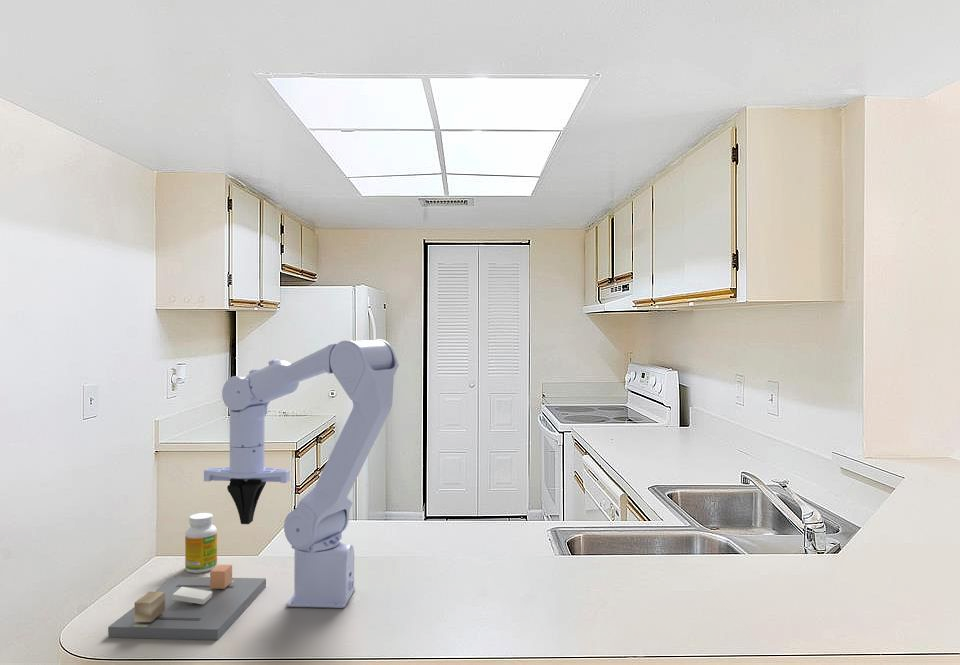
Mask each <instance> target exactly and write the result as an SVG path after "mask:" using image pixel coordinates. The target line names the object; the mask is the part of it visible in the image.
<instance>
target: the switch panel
mask: <svg viewBox="0 0 960 665" xmlns="http://www.w3.org/2000/svg"><path fill="white" fill-rule="evenodd" d="M181 587H187V588H193V589H199V590H206V591H212V597H211V598H210V599H209V600H208V601H207V602H206V603H204V604H197V603H191V602H185V601H178V600H172V595H173V594H174V593H175V592H176V591H177V590H178V589H180V588H181ZM266 587H267V578H265V577H264V578H263V577H261V578H260V577H232V582H231V583H230V584H229V585H228V586H227V587H226V588H225V589H222V588H210V576H177V575H176V576H172V577H171V578H170V579H169V580H167V582H164V583H163V584H162V585H161V586H160V587H159V588H157V589H156V590H154V592H165V611H164V612H162V613H161V614H160V615H159V616H158V617H156V618H155V619H154V620H153V621H152V622H135V606H134V607H132V608H131V609H129V610H128V611H127V612H126V613H125V614H123V615H122V616H121V617H119V618H118V619H116V621H114V622H113V623H111V624H110V625H109V626H108V629H107V631H108V632H107V634H108V636H107V637H108V638H122V639H123V638H127V639H128V638H129V639H158V640H159V639H161V640H163V639H164V640H165V639H166V640H167V639H168V640H171V639H172V640H200V641H201V640H204V641H205V640H207V641H208V640H209V641H210V640H211V641H213V640H214V641H218V640H219V639H220V638H221V637H222V636H223V635H224V634H225V633H226V631H227V630H228V629H229V628H230V627H231V626H232V625H233V624H234V623H235V622H236V620H238V619H239V617H240V616H241V615H242V614H243V613H244V611H246V609H247V608H248V607H249V606H250V605H251V604H252V603H253V602H254V601H255V600H256V599H257V598H258V596H259V595H260V594H261V593H262V592H264V590H265V589H266Z"/></svg>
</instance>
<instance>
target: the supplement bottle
mask: <svg viewBox="0 0 960 665" xmlns="http://www.w3.org/2000/svg"><path fill="white" fill-rule="evenodd" d="M188 523H189V527H187V529H186V531H185V534H184V535H185V537H184V538H185V539H184V543H185V556H184V557H185V558H184V559H185V560H184V563H185V568H184V569H185V571H187V572H188V573H192V574H198V573H199V574H201V573H207V572H210V571H211V570H212V569H213V568H215V567H216V566H217V565H218V529H217V527H216V526H215V525H214V524H213V523H214V515H213V513H210V512H199V513H193V514H191V515H189V522H188Z"/></svg>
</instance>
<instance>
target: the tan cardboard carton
mask: <svg viewBox="0 0 960 665" xmlns="http://www.w3.org/2000/svg"><path fill="white" fill-rule="evenodd" d="M134 607H135V622H152V621H153V620H154V619H155V618H156V617H158V616H159V615H160V614H161V613H162V612H164V611H165V592H155V591H148V592H147V593H145V594H144V595H143V596H141V597H140V598H139V599H137V600H136V601H135V602H134Z"/></svg>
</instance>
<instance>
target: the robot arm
mask: <svg viewBox="0 0 960 665" xmlns="http://www.w3.org/2000/svg"><path fill="white" fill-rule="evenodd" d="M267 363H268V365H267V366H265V367H262V368H260V369H258V368H257V369H256V368H253V369H251V370H249V371H248V373H249V374H247V375H246V376H245V375H244V376H239V375H234V376H231V377H230V378H229V379H227V380H226V381H225V383H224V384H223V386H222V389H221V390H222V392H221V395H222V396H221V397H222V400H223V402H224V405H225V406H226V407H227V408H228V409H229V467H208V468H206V469H204V470H203V482H211V481H215V482H216V481H218V482H219V481H222V482H229V484H228V485H227V488H226V490H227V492H228V493H229V494H230V496H231V498H232V500H233V503H234V505H235V507H236V509H237V513H238V516H239V520H240V525H250V524H251V523H252V522H253V521H254V517H255V511H256V508H257V504H258V501H259V499H260V496H261V494H262V492H263V490H264V487H265V486H266V485H267V484H266V483H267V482H269V483H274V482H275V483H281V484H287V483H289V481H291V469H284V468H283V469H282V468H276V467H275V468H273V467H266V466H265V427H266V426H265V423H266V422H265V418H266V416H267V414H268V406H269V404H270V403H271V402H272V401H274V400H277V399H279V398H282V397H284V396H287V395H290V394H293V393H294V392H295V391H296V390H297V389H298V387H299V385H300V382H302V381H305V380H309V379H312V378H314V377H317V376H319V375H322V374H325V373H327V374H329V375H330V374H333V375H334V377H335V378H336V380H337V382H338V383H339V384H340V386H341V387H342V389H343V391H344V392H345V393H346V395H347V396H348V398H349V399H350V400H351V401H352V403H353V407H352V409H351V411H350V413H349V416H348V417H347V420H346V422H345V424H344V426H343V427H342V430H341V432H340V434H339V436H338V438H337V440H336V442H335V445H334V446H333V449H332V451H331V452H330V454H329V457H328V459H327V460H326V463H325V465H324V467H323V469H322V472H321V473H320V475H319V477H318V480H317V482H316V484H315V486H314V487H313V488H312V489H311V490H310V491H309V492H308V493H307V494H306V495H304V496H303V497H302V498H301V499H300V500H299V502H298V503H297V506H296V507H295V509H294V510H291V511H290V512H288V514H287V515H286V517H285V519H284V524H283V531H284V535H285V539H286V540H287V541H288V544H290V545H291V549H293V550H294V552H293V554H294V558H293V559H294V563H293V564H294V565H293V566H294V574H293V575H294V578H293V579H294V585H293V586H294V589H293V590H294V592H293V594H292V595H291V596H290V597H289V599H288V600H287V601H286V603H285V607H289V608H290V607H291V608H292V607H293V608H294V607H295V608H339V609H342V608H345V607H346V605H347V603H348V602H349V600H350V599H351V596H352V595H353V593H354V592H355V589H356V586H355V550H354V549H355V548H354V545H352V544H348V543H343V542H341V541H340V540H342V538H343V537H342V533H343V532H344V531H345V530H346V529H347V527H348V525H349V521H350V519H349V516H350V510H351V508H352V507H353V506H352V505H353V502H352V501H353V500H352V499H351V498H350V497H349V494H350V492H351V490H352V488H353V487H354V484H355V482H356V480H357V478H358V476H359V474H360V472H361V470H362V468H363V466H364V464H365V462H366V460H367V458H368V456H369V454H370V452H371V451H372V448H373V446H374V444H375V442H376V440H377V438H378V436H379V434H380V432H381V429H382V428H383V426H384V424H385V422H386V419H387V418H388V416H389V414H390V411H391V409H392V407H393V398H394V396H393V395H394V383H395V382H394V380H395V375H396V372H397V371H398V368H399V366H400V364H399V361H398V358H397V356H396V353H395V350H394V348H393V347H392V345H391V344H390V342H387V341H386V340H384V339H380V338H378V339H377V338H376V339H373V340H372V339H371V340H370V339H369V340H349V339H345V340H341V341H339V342H337V343H333V344H328V345H327V346H325V347H322V348H321V349H319V350H317V351H314V352H313V353H310V354H309V355H307V356H304V357H303V358H301V359H298V360H297V361H294V362H293V363H291V362H289V361H287V360H280V359H279V358H278V359H271V360H269V361H268V362H267Z"/></svg>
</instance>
